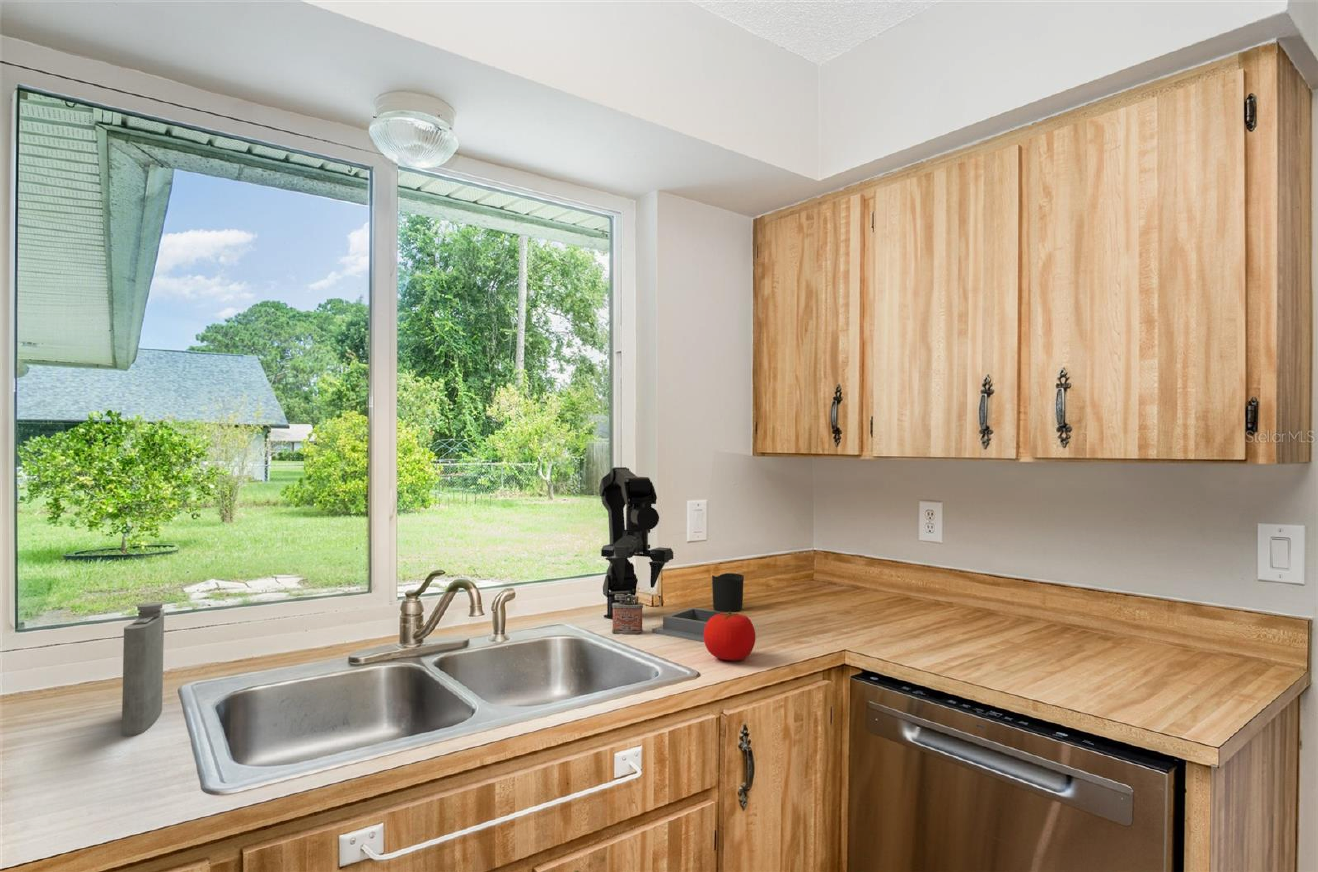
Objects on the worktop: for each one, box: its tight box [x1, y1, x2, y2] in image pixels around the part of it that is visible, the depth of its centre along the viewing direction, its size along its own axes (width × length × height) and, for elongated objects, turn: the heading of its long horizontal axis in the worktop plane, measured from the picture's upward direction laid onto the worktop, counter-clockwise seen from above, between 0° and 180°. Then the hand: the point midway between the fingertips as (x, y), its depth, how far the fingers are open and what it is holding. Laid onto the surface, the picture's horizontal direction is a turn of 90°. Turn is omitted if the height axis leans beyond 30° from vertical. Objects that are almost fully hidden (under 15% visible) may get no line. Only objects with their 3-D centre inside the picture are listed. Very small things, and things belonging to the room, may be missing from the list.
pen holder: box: [711, 572, 744, 613], centre depth 214 cm, size 9×9×10 cm
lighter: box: [611, 594, 644, 636], centre depth 185 cm, size 8×3×10 cm, turn 84°
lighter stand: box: [651, 606, 726, 643], centre depth 187 cm, size 18×18×4 cm
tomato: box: [703, 612, 757, 661], centre depth 162 cm, size 11×12×10 cm
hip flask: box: [121, 602, 165, 737], centre depth 125 cm, size 16×4×20 cm, turn 24°
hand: (636, 585), depth 185 cm, fingers open, 9 cm apart
